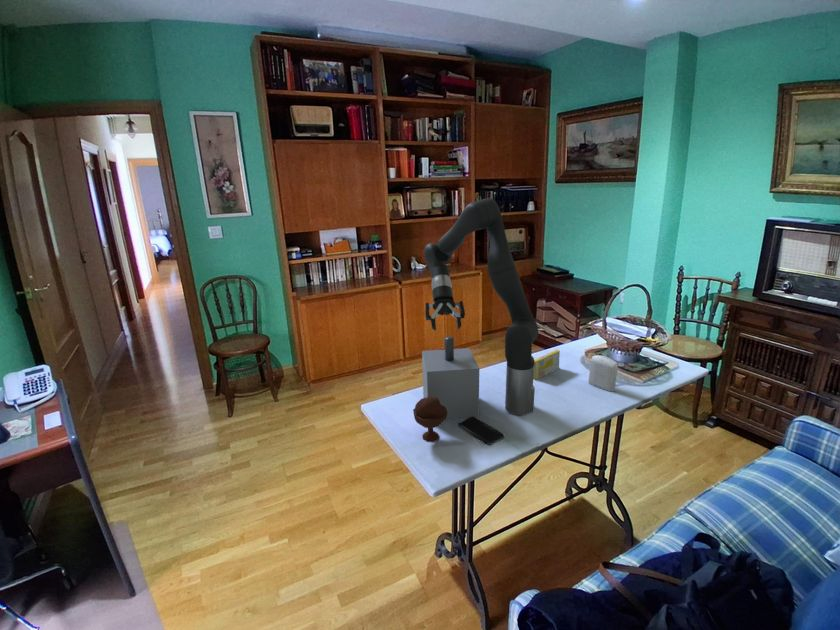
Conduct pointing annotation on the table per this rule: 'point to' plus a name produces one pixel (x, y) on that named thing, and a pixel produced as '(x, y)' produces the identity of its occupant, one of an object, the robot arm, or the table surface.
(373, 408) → the table surface
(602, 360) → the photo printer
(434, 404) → the ice cream bowl
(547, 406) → the table surface
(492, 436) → the black smartphone
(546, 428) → the table surface
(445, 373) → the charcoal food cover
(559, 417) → the table surface
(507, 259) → the robot arm
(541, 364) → the candy box
